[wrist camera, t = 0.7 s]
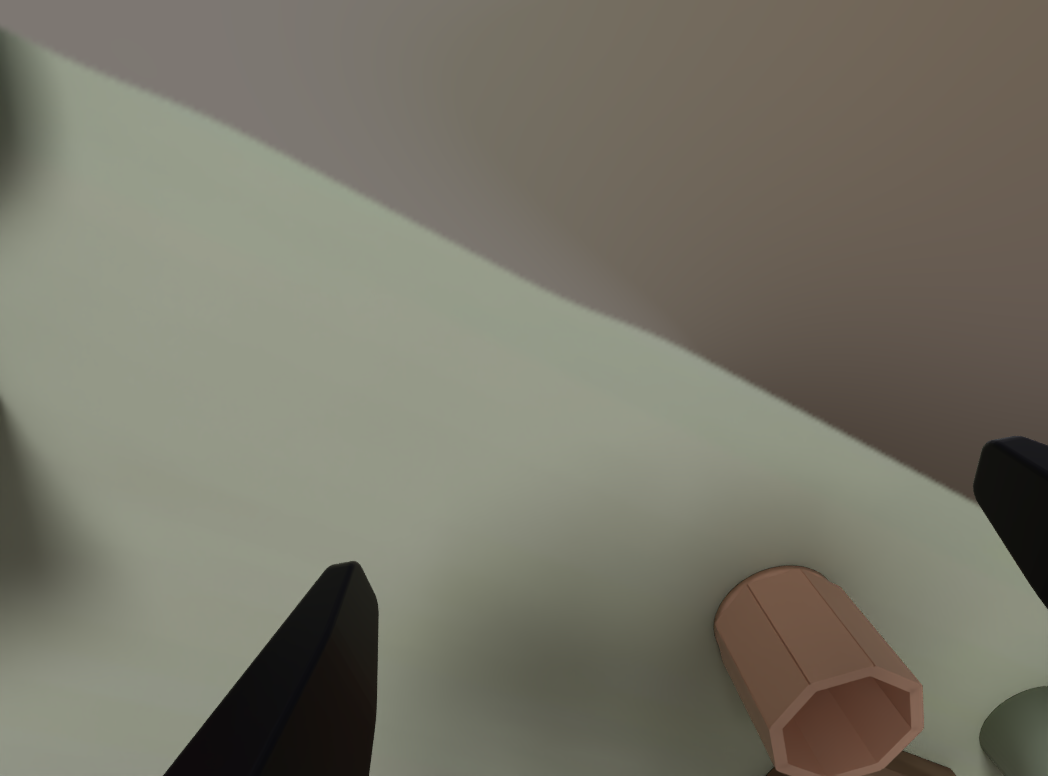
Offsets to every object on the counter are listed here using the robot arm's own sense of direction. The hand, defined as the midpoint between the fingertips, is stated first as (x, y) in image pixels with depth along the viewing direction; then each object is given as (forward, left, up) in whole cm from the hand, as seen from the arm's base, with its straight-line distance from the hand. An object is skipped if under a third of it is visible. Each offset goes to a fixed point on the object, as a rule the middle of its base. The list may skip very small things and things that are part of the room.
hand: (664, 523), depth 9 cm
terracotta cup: (-9, -18, -15) cm, 25 cm away
